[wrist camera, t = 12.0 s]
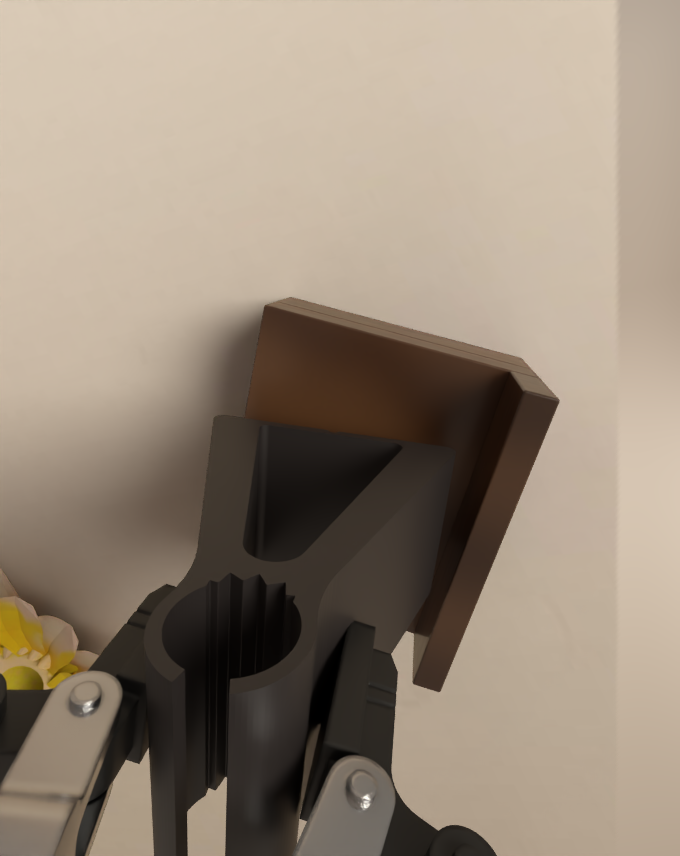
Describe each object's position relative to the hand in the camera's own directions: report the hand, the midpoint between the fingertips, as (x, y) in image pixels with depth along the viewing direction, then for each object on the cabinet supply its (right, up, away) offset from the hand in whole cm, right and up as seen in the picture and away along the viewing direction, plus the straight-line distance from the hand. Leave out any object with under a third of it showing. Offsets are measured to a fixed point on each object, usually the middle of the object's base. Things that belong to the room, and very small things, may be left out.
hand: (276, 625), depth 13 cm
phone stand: (+1, +2, +7) cm, 7 cm away
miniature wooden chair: (+3, +4, +12) cm, 13 cm away
